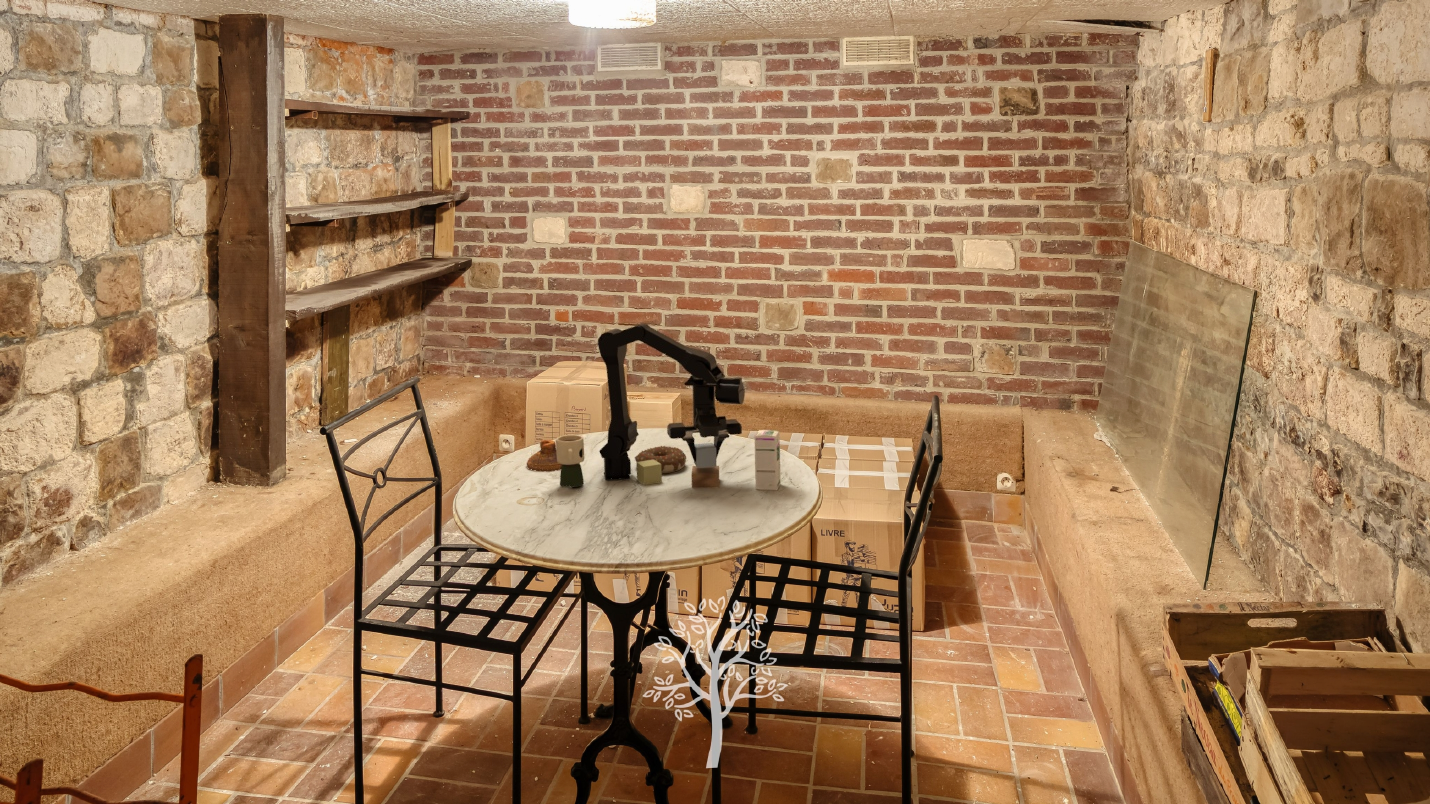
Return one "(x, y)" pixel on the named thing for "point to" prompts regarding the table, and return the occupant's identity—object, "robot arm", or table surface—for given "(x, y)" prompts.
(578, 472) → the character mug
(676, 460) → the donut
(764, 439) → the syrup box
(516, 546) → the table surface
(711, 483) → the walnut slab
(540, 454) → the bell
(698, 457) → the slate cube
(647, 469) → the olive cube
